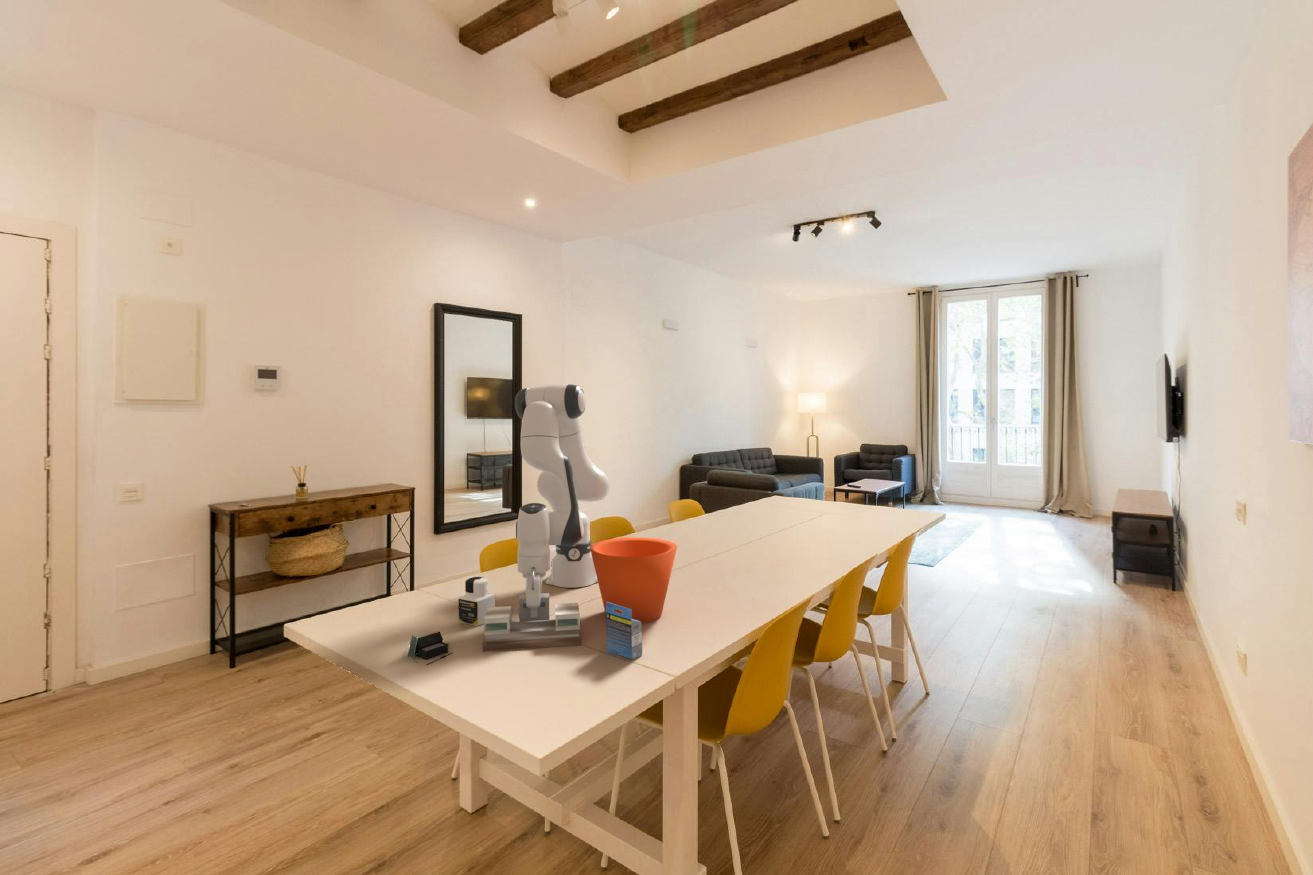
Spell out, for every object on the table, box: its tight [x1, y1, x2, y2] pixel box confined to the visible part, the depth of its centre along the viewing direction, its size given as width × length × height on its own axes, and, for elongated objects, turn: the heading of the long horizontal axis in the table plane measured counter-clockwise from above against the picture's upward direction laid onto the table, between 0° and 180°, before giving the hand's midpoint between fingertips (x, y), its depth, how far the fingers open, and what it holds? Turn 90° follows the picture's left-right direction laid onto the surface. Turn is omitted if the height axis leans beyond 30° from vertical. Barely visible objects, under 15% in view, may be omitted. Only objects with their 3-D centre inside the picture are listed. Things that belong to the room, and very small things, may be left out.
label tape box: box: [605, 602, 643, 661], centre depth 150 cm, size 9×4×12 cm, turn 49°
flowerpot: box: [590, 536, 678, 625], centre depth 178 cm, size 25×25×20 cm
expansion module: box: [518, 592, 550, 621], centre depth 170 cm, size 4×8×8 cm, turn 99°
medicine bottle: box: [457, 576, 496, 627], centre depth 173 cm, size 7×7×12 cm
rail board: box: [481, 602, 582, 652], centre depth 159 cm, size 12×24×8 cm, turn 99°
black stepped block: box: [407, 631, 454, 666], centre depth 150 cm, size 15×15×6 cm
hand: (534, 613), depth 170 cm, fingers closed on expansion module, 4 cm apart
